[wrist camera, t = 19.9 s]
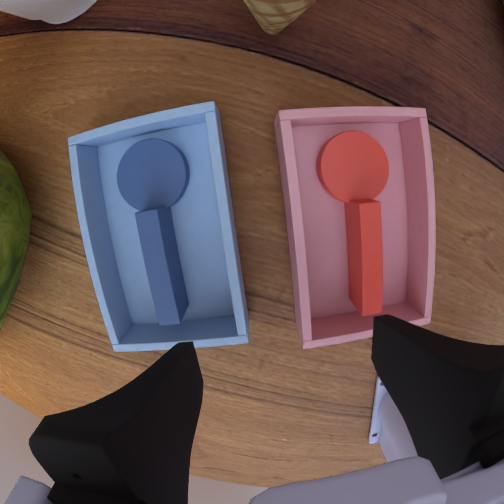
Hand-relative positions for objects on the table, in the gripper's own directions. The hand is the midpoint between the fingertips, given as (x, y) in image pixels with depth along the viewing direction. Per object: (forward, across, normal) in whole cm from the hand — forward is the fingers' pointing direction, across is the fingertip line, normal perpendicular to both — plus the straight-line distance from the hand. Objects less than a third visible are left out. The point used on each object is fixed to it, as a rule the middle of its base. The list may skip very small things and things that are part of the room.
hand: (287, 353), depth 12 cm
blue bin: (+10, +6, -4) cm, 13 cm away
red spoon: (+9, -6, -3) cm, 12 cm away
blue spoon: (+9, +6, -4) cm, 12 cm away
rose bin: (+10, -6, -3) cm, 12 cm away
